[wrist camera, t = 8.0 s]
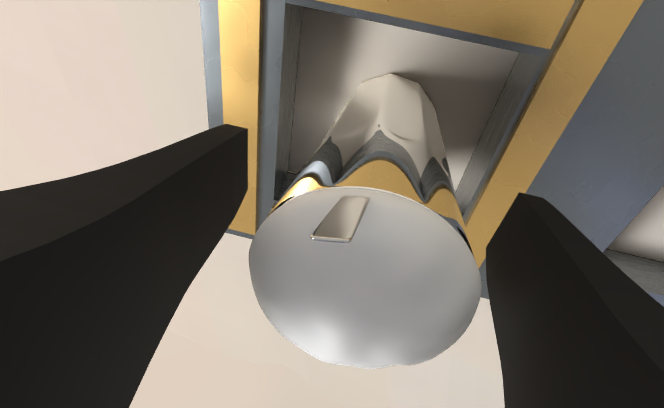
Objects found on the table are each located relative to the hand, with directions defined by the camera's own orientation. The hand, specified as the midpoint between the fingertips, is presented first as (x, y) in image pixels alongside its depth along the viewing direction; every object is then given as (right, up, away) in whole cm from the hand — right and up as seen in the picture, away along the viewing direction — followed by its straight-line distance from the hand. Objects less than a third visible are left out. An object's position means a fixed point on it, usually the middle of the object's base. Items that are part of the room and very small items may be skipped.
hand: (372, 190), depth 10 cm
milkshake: (+1, +3, +4) cm, 5 cm away
